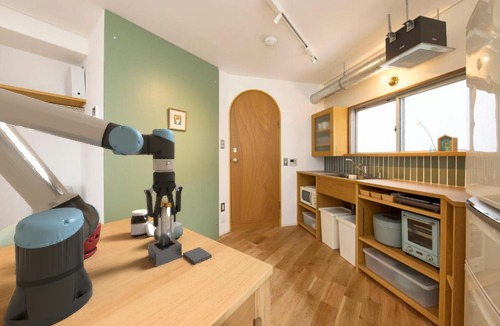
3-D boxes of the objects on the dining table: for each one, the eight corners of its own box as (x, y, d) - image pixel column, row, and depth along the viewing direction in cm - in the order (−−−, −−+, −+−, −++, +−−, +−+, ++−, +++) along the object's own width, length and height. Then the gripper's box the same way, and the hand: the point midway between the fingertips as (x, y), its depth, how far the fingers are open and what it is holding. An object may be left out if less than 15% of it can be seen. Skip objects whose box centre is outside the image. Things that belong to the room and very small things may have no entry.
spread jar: (132, 232, 96) (132, 209, 96) (157, 228, 101) (156, 207, 101) (128, 241, 85) (128, 215, 85) (156, 237, 90) (156, 212, 90)
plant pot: (73, 267, 64) (73, 232, 64) (44, 263, 67) (44, 230, 67) (109, 250, 77) (109, 220, 77) (83, 247, 80) (83, 219, 80)
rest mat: (194, 264, 66) (194, 261, 66) (183, 255, 73) (183, 252, 72) (211, 257, 71) (211, 254, 71) (199, 249, 77) (199, 247, 77)
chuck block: (156, 266, 65) (156, 252, 65) (148, 257, 71) (148, 244, 71) (181, 257, 71) (181, 244, 71) (172, 249, 78) (171, 237, 77)
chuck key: (163, 248, 67) (163, 204, 67) (156, 241, 73) (155, 200, 72) (175, 244, 70) (174, 202, 69) (166, 238, 75) (166, 199, 75)
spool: (163, 242, 76) (161, 218, 81) (149, 249, 80) (147, 225, 84) (189, 239, 88) (186, 218, 92) (176, 245, 91) (173, 224, 95)
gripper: (141, 172, 62) (142, 243, 62) (190, 170, 74) (190, 229, 74) (135, 171, 67) (136, 236, 68) (181, 169, 79) (182, 225, 80)
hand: (165, 232), depth 71 cm, fingers closed on chuck key, 4 cm apart
